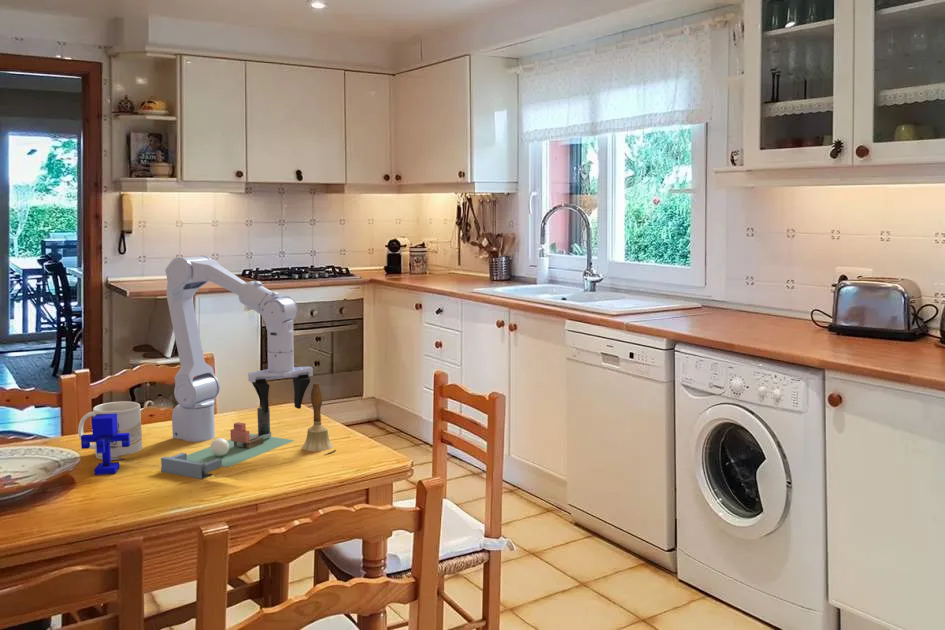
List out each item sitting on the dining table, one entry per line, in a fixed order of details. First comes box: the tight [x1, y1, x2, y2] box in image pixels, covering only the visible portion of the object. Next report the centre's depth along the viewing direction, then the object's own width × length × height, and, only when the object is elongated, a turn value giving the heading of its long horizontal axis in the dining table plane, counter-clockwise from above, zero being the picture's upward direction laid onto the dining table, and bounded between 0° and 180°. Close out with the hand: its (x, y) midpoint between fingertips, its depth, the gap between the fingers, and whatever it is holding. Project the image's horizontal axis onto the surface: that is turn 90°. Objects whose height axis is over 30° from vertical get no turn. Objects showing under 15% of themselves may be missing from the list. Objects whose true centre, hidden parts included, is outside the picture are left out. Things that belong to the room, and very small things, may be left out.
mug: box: [77, 400, 143, 461], centre depth 190 cm, size 10×12×11 cm
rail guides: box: [234, 436, 263, 449], centre depth 194 cm, size 4×5×1 cm
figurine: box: [80, 413, 130, 476], centre depth 177 cm, size 8×8×12 cm
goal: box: [160, 452, 223, 480], centre depth 178 cm, size 11×6×3 cm, turn 65°
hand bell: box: [301, 382, 337, 457], centre depth 192 cm, size 8×8×16 cm
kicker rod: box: [229, 406, 272, 448], centre depth 195 cm, size 4×11×7 cm, turn 155°
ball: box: [209, 437, 229, 456], centre depth 185 cm, size 4×4×4 cm
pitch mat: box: [187, 432, 295, 468], centre depth 191 cm, size 14×23×1 cm, turn 155°
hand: (281, 409), depth 191 cm, fingers open, 7 cm apart
